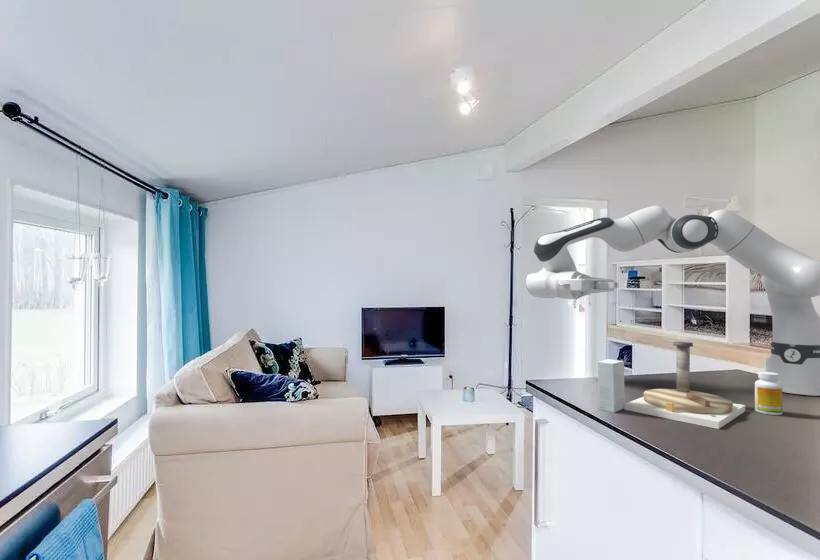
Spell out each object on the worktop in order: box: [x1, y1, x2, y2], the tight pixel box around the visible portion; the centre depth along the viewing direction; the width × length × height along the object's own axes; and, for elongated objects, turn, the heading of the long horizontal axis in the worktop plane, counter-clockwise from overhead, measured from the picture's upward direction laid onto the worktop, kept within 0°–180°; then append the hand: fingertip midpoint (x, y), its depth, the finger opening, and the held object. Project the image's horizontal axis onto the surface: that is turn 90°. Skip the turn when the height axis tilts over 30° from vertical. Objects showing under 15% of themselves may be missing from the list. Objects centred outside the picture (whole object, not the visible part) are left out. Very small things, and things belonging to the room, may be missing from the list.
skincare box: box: [597, 358, 625, 413], centre depth 114 cm, size 6×4×12 cm
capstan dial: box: [643, 341, 734, 414], centre depth 114 cm, size 19×19×14 cm
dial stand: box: [624, 396, 746, 430], centre depth 113 cm, size 22×20×4 cm
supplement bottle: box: [754, 371, 783, 416], centre depth 112 cm, size 5×5×10 cm
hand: (615, 285), depth 135 cm, fingers closed
